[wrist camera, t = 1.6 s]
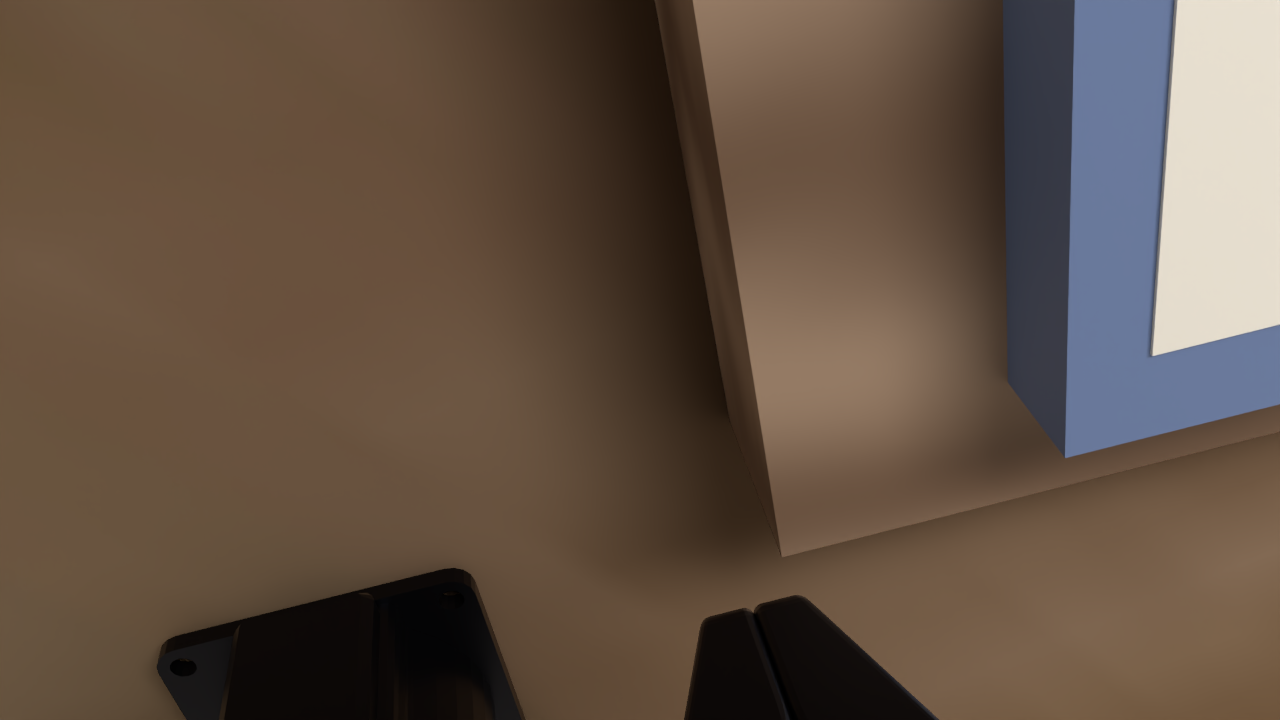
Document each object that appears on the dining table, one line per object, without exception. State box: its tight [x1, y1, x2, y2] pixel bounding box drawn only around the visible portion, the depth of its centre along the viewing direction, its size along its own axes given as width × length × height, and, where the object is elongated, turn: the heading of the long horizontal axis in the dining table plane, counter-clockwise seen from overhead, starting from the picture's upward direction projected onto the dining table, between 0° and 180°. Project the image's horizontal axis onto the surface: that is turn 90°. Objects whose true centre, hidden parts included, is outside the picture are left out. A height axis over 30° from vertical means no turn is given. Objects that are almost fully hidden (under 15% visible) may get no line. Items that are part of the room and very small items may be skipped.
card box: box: [1003, 0, 1280, 458], centre depth 16 cm, size 9×6×2 cm, turn 11°
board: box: [655, 0, 1280, 557], centre depth 18 cm, size 14×16×4 cm
